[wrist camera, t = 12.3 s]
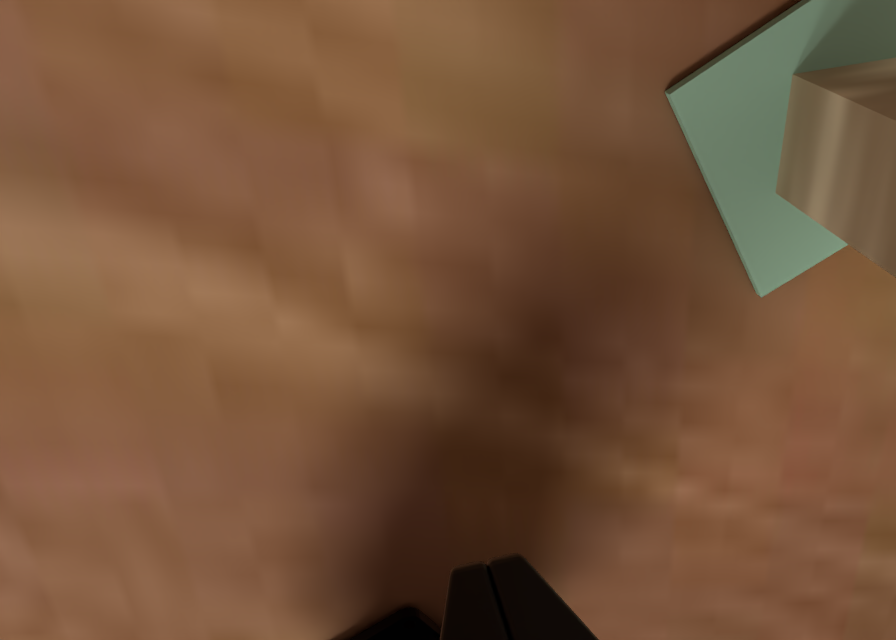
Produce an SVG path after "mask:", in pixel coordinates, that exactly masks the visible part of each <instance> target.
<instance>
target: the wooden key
mask: <svg viewBox="0 0 896 640" xmlns="http://www.w3.org/2000/svg"><path fill="white" fill-rule="evenodd" d="M775 193H776V194H778V195H779V196H780V197H782V198H783V199H785V200H786V201H788V202H789V203H790V204H792V205H793V206H795V207H796V208H797V209H799V210H800V211H802V212H803V213H805V214H806V215H807V216H809V217H810V218H812V219H813V220H814V221H816V222H817V223H819V224H820V225H822V226H823V227H824V228H826V229H827V230H829V231H830V232H832V233H833V234H834V235H836V236H837V237H839V238H840V239H841V240H843V241H844V242H846V243H847V244H849V245H850V246H851V247H853V248H854V249H856V250H857V251H859V252H860V253H861V254H863V255H864V256H866V257H867V258H868V259H870V260H871V261H873V262H874V263H876V264H877V265H878V266H880V267H881V268H883V269H884V270H885V271H887V272H888V273H890V274H891V275H893V276H894V277H895V278H896V58H890V59H884V60H878V61H871V62H865V63H859V64H853V65H847V66H840V67H834V68H828V69H822V70H816V71H810V72H803V73H797V74H793V75H792V82H791V89H790V96H789V103H788V109H787V116H786V123H785V130H784V137H783V144H782V151H781V158H780V165H779V171H778V178H777V185H776V192H775Z"/></svg>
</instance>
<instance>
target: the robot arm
mask: <svg viewBox="0 0 896 640" xmlns="http://www.w3.org/2000/svg"><path fill="white" fill-rule="evenodd" d="M350 640H599V639H598V638H597V637H596V636H595V635H594V634H593V633H592V632H591V631H590V629H589V628H588V627H587V626H586V625H585V624H584V623H583V622H582V621H581V619H580V618H579V617H578V616H577V615H576V614H575V613H574V612H573V611H572V609H571V608H570V607H569V606H568V605H567V604H566V603H565V602H564V601H563V599H562V598H561V597H560V596H559V595H558V594H557V593H556V592H555V591H554V590H553V588H552V587H551V586H550V585H549V584H548V583H547V582H546V581H545V580H544V578H543V577H542V576H541V575H540V574H539V573H538V572H537V571H536V570H535V568H534V567H533V566H532V565H531V564H530V563H529V562H528V561H527V560H526V559H525V558H524V557H523V556H522V555H520V554H518V553H512V554H508V555H503V556H499V557H494V558H491V559H489V560H488V561H487V563H486V564H485V563H484V562H481V561H476V562H472V563H467V564H463V565H458V566H455V567H453V568H452V569H451V571H450V575H449V581H448V588H447V594H446V601H445V608H444V614H443V621H442V627H441V628H439V627H438V626H437V625H436V624H435V623H433V622H432V621H431V620H430V619H429V618H428V617H426V616H425V615H424V614H423V613H422V612H420V611H419V610H418V609H416V608H411V607H409V608H404V609H402V610H400V611H398V612H396V613H395V614H393V615H391V616H390V617H388V618H386V619H385V620H383V621H381V622H379V623H378V624H376V625H374V626H373V627H371V628H369V629H368V630H366V631H364V632H362V633H361V634H359V635H357V636H356V637H354V638H352V639H350Z"/></svg>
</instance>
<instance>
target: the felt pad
mask: <svg viewBox="0 0 896 640" xmlns="http://www.w3.org/2000/svg"><path fill="white" fill-rule="evenodd" d="M890 58H896V0H801V1H800V2H798V3H797V4H795V5H794V6H792V7H791V8H789V9H788V10H786V11H785V12H783V13H782V14H780V15H779V16H777V17H776V18H774V19H773V20H771V21H770V22H768V23H767V24H765V25H764V26H762V27H761V28H759V29H758V30H756V31H755V32H753V33H752V34H750V35H749V36H747V37H746V38H744V39H743V40H741V41H740V42H738V43H737V44H735V45H734V46H732V47H731V48H729V49H728V50H726V51H725V52H723V53H722V54H720V55H719V56H717V57H716V58H714V59H713V60H711V61H710V62H708V63H707V64H705V65H704V66H702V67H701V68H699V69H698V70H696V71H695V72H693V73H692V74H690V75H689V76H687V77H686V78H684V79H683V80H681V81H680V82H678V83H677V84H675V85H674V86H672V87H671V88H669V89H668V90H666V91H665V93H666V96H667V98H668V100H669V102H670V104H671V107H672V109H673V111H674V113H675V115H676V118H677V120H678V122H679V124H680V126H681V129H682V131H683V133H684V135H685V137H686V140H687V142H688V144H689V146H690V148H691V151H692V153H693V155H694V157H695V159H696V162H697V164H698V166H699V168H700V170H701V173H702V175H703V177H704V179H705V181H706V184H707V186H708V188H709V190H710V192H711V195H712V197H713V199H714V201H715V203H716V206H717V208H718V210H719V212H720V214H721V217H722V219H723V221H724V223H725V225H726V228H727V230H728V232H729V234H730V236H731V239H732V241H733V243H734V245H735V247H736V250H737V252H738V254H739V256H740V258H741V261H742V263H743V265H744V267H745V269H746V272H747V274H748V276H749V278H750V280H751V283H752V285H753V287H754V289H755V291H756V293H757V294H758V295H759V296H760V297H763V296H765V295H766V294H768V293H770V292H771V291H773V290H774V289H776V288H778V287H779V286H781V285H783V284H784V283H786V282H788V281H789V280H791V279H793V278H794V277H796V276H797V275H799V274H801V273H802V272H804V271H806V270H807V269H809V268H811V267H812V266H814V265H816V264H817V263H819V262H820V261H822V260H824V259H825V258H827V257H829V256H830V255H832V254H834V253H835V252H837V251H839V250H840V249H842V248H843V247H845V246H847V245H848V244H847V243H846V242H844V241H843V240H841V239H840V238H839V237H837V236H836V235H834V234H833V233H832V232H830V231H829V230H827V229H826V228H824V227H823V226H822V225H820V224H819V223H817V222H816V221H814V220H813V219H812V218H810V217H809V216H807V215H806V214H805V213H803V212H802V211H800V210H799V209H797V208H796V207H795V206H793V205H792V204H790V203H789V202H788V201H786V200H785V199H783V198H782V197H780V196H779V195H778V194H776V193H775V192H776V185H777V178H778V171H779V165H780V158H781V151H782V144H783V137H784V130H785V123H786V116H787V109H788V103H789V96H790V89H791V82H792V75H793V74H797V73H803V72H810V71H816V70H822V69H828V68H834V67H840V66H847V65H853V64H859V63H865V62H871V61H878V60H884V59H890Z"/></svg>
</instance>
